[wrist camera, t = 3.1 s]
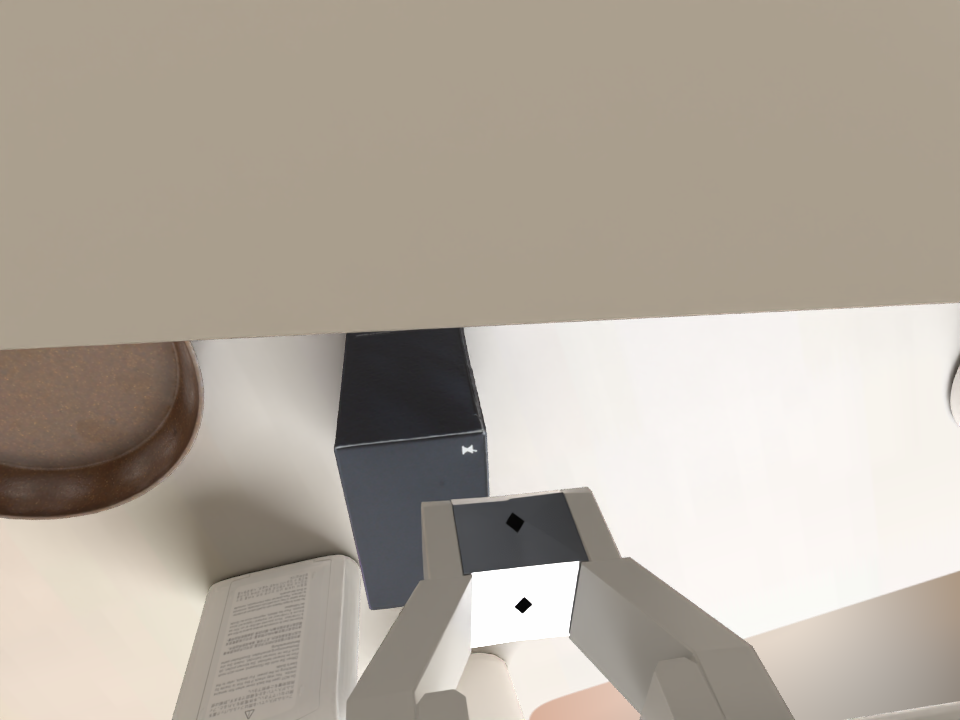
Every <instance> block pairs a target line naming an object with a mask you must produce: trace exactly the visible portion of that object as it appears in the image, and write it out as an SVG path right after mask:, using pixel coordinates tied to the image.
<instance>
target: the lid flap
mask: <svg viewBox="0 0 960 720" xmlns="http://www.w3.org/2000/svg"><path fill="white" fill-rule="evenodd" d="M944 303H960V0H0V350H11V349H31V348H52V347H72V346H92V345H112V344H133V343H153V342H173V341H193V340H214V339H234V338H254V337H275V336H295V335H315V334H335V333H356V332H376V331H396V330H417V329H437V328H457V327H477V326H498V325H518V324H538V323H558V322H579V321H599V320H619V319H640V318H660V317H680V316H700V315H721V314H741V313H761V312H782V311H802V310H822V309H842V308H863V307H883V306H903V305H923V304H944Z"/></svg>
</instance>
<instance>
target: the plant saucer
mask: <svg viewBox="0 0 960 720" xmlns="http://www.w3.org/2000/svg"><path fill="white" fill-rule="evenodd" d="M203 409H204V388H203V380H202V374H201V370H200V367H199V363H198V360H197V356H196V354H195V351H194V349H193V347H192V344H191V342H190V341H173V342H153V343H133V344H112V345H92V346H72V347H52V348H31V349H11V350H0V518H6V519H25V520H50V519H63V518H70V517H77V516H84V515H89V514H94V513H98V512H101V511H104V510H108V509H111V508H114V507H117V506H120V505H122V504H125V503H127V502H129V501H132V500H134V499H136V498H138V497H140V496H142V495H143V494H145V493H147V492H148V491H150V490H151V489H153V488H154V487H156V486H157V485H158V484H160V483H161V482H163V481H164V480H165V479H166V478H167V477H168V476H169V475H171V474H172V473H173V472H174V471H175V470H176V468H177V467H178V466H179V465H180V464H181V462H182V461H183V460H184V459H185V457H186V456H187V454H188V453H189V451H190V449H191V448H192V446H193V444H194V442H195V440H196V437H197V435H198V431H199V428H200V425H201V420H202V416H203Z"/></svg>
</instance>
